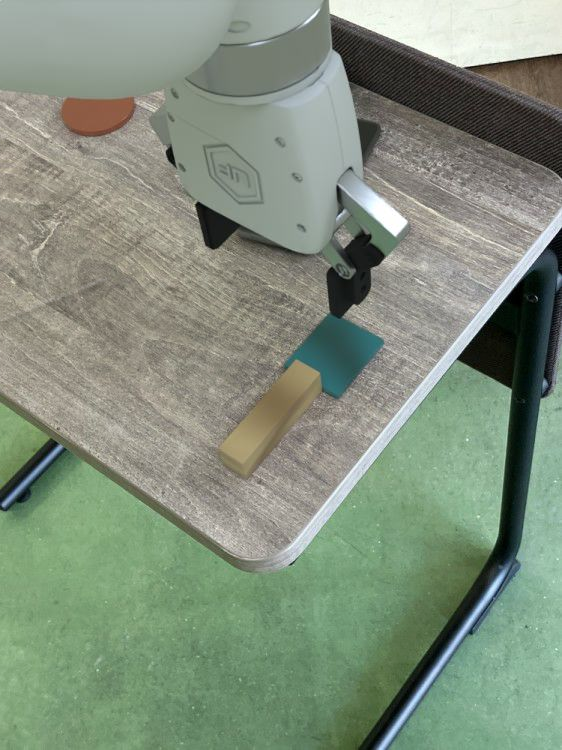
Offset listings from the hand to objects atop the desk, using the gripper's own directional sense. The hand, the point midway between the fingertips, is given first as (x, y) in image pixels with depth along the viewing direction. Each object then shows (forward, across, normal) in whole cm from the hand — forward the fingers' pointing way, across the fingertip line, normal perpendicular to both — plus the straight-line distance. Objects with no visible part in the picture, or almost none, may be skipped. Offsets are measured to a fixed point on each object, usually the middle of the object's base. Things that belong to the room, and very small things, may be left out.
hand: (285, 266), depth 58 cm
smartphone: (+14, -12, +17) cm, 26 cm away
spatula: (+14, 0, -1) cm, 14 cm away
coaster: (+14, -35, +14) cm, 41 cm away
